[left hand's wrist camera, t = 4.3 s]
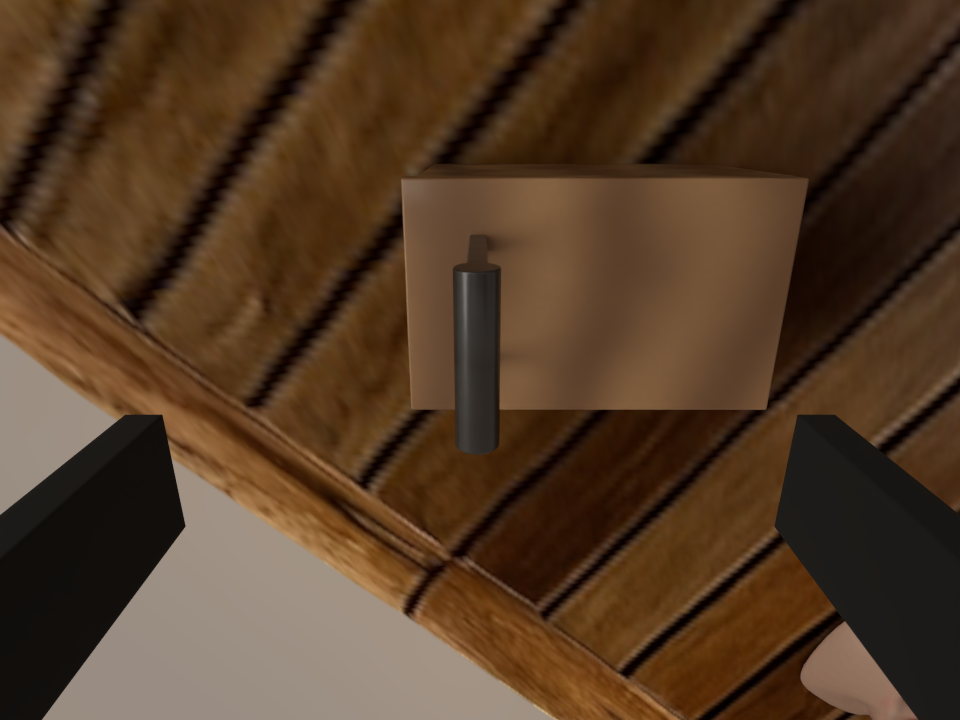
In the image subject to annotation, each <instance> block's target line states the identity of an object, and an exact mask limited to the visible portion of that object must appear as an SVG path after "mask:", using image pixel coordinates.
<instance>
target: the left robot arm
mask: <svg viewBox="0 0 960 720" xmlns="http://www.w3.org/2000/svg"><path fill="white" fill-rule="evenodd" d="M184 528H185V522H184V517H183V512H182V507H181V502H180V498H179V493H178V488H177V483H176V478H175V474H174V469H173V464H172V459H171V454H170V449H169V445H168V440H167V435H166V430H165V425H164V421H163V416H162V415H124V416H123V417H122V418H121V419H119V420H118V421H117V422H116V423H114V424H113V425H112V426H111V427H109V428H108V429H107V430H106V431H104V432H103V433H102V434H101V435H99V436H98V437H97V438H96V439H94V440H93V441H92V442H91V443H89V444H88V445H87V446H86V447H85V448H83V449H82V450H81V451H80V452H78V453H77V454H76V455H75V456H73V457H72V458H71V459H70V460H68V461H67V462H66V463H65V464H63V465H62V466H61V467H60V468H58V469H57V470H56V471H55V472H53V473H52V474H51V475H50V476H48V477H47V478H46V479H45V480H43V481H42V482H41V483H40V484H38V485H37V486H36V487H35V488H33V489H32V490H31V491H30V492H28V493H27V494H26V495H25V496H23V497H22V498H21V499H20V500H18V501H17V502H16V503H15V504H13V505H12V506H11V507H10V508H8V509H7V510H6V511H5V512H3V513H2V514H1V515H0V720H42V719H43V717H44V716H45V715H46V713H47V712H48V711H49V709H50V708H51V707H52V705H53V704H54V703H55V701H56V700H57V699H58V697H59V696H60V695H61V693H62V692H63V691H64V689H65V688H66V686H67V685H68V684H69V682H70V681H71V680H72V678H73V677H74V676H75V674H76V673H77V672H78V670H79V669H80V668H81V666H82V665H83V664H84V662H85V661H86V660H87V658H88V657H89V656H90V654H91V653H92V651H93V650H94V649H95V647H96V646H97V645H98V643H99V642H100V641H101V639H102V638H103V637H104V635H105V634H106V633H107V631H108V630H109V629H110V627H111V626H112V625H113V623H114V622H115V621H116V619H117V618H118V617H119V615H120V614H121V612H122V611H123V610H124V608H125V607H126V606H127V604H128V603H129V602H130V600H131V599H132V598H133V596H134V595H135V594H136V592H137V591H138V590H139V588H140V587H141V586H142V584H143V583H144V582H145V580H146V579H147V578H148V576H149V575H150V574H151V572H152V571H153V569H154V568H155V567H156V565H157V564H158V563H159V561H160V560H161V559H162V557H163V556H164V555H165V553H166V552H167V551H168V549H169V548H170V547H171V545H172V544H173V543H174V541H175V540H176V539H177V537H178V536H179V534H180V533H181V532H182V530H183V529H184ZM775 528H776V529H777V530H778V532H779V533H780V535H781V536H782V537H783V539H784V540H785V541H786V543H787V544H788V545H789V547H790V548H791V549H792V551H793V552H794V553H795V555H796V556H797V557H798V559H799V560H800V561H801V563H802V564H803V565H804V567H805V568H806V569H807V571H808V572H809V574H810V575H811V576H812V578H813V579H814V580H815V582H816V583H817V584H818V586H819V587H820V588H821V590H822V591H823V592H824V594H825V595H826V596H827V598H828V599H829V600H830V602H831V603H832V604H833V606H834V607H835V608H836V610H837V611H838V613H839V614H840V615H841V617H842V618H843V619H844V621H845V622H846V623H847V625H848V626H849V627H850V629H851V630H852V631H853V633H854V634H855V635H856V637H857V638H858V639H859V641H860V642H861V643H862V645H863V646H864V648H865V649H866V650H867V652H868V653H869V654H870V656H871V657H872V658H873V660H874V661H875V662H876V664H877V665H878V666H879V668H880V669H881V670H882V672H883V673H884V674H885V676H886V677H887V678H888V680H889V681H890V682H891V684H892V685H893V687H894V688H895V689H896V691H897V692H898V693H899V695H900V696H901V697H902V699H903V700H904V701H905V703H906V704H907V705H908V707H909V708H910V709H911V711H912V712H913V713H914V715H915V716H916V717H917V719H918V720H960V515H959V514H958V513H957V512H955V511H954V510H953V509H952V508H950V507H949V506H948V505H947V504H945V503H944V502H943V501H942V500H940V499H939V498H938V497H937V496H935V495H934V494H933V493H932V492H930V491H929V490H928V489H927V488H925V487H924V486H923V485H922V484H920V483H919V482H918V481H917V480H915V479H914V478H913V477H912V476H910V475H909V474H908V473H907V472H905V471H904V470H903V469H902V468H900V467H899V466H898V465H897V464H895V463H894V462H893V461H892V460H890V459H889V458H888V457H887V456H885V455H884V454H883V453H882V452H880V451H879V450H878V449H877V448H876V447H874V446H873V445H872V444H871V443H869V442H868V441H867V440H866V439H864V438H863V437H862V436H861V435H859V434H858V433H857V432H856V431H854V430H853V429H852V428H851V427H849V426H848V425H847V424H846V423H844V422H843V421H842V420H841V419H839V418H838V417H837V416H836V415H798V416H797V421H796V425H795V430H794V435H793V440H792V445H791V449H790V454H789V459H788V464H787V469H786V474H785V478H784V483H783V488H782V493H781V498H780V502H779V507H778V512H777V517H776V522H775Z"/></svg>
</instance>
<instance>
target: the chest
mask: <svg viewBox="0 0 960 720" xmlns="http://www.w3.org/2000/svg"><path fill="white" fill-rule="evenodd" d="M417 177H797V176H792V175H785V174H778V173H771V172H764V171H757V170H751V169H744V168H737V167H730V166H723V165H716V164H434V165H433V166H431V167H430V168H428V169H427V170H426V171H424V172H423V173H422V174H420V175H419V176H417Z"/></svg>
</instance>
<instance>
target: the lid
mask: <svg viewBox="0 0 960 720" xmlns="http://www.w3.org/2000/svg"><path fill="white" fill-rule="evenodd" d="M808 183H809V179H808V178H805V177H403V178H402V179H401V191H402V213H403V235H404V258H405V280H406V302H407V324H408V347H409V369H410V391H411V408H412V409H455V444H456V446H457V448H458V449H459V450H461V451H463V452H465V453H469V454H486V453H489V452H492V451H494V450H495V449H497V447H498V446H499V420H500V409H504V410H765V409H766V408H767V403H768V397H769V392H770V387H771V381H772V376H773V371H774V365H775V360H776V354H777V349H778V344H779V338H780V333H781V328H782V322H783V317H784V312H785V306H786V301H787V295H788V290H789V285H790V279H791V274H792V269H793V263H794V258H795V252H796V247H797V242H798V236H799V231H800V226H801V220H802V215H803V209H804V204H805V199H806V193H807V188H808Z"/></svg>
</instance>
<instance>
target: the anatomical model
mask: <svg viewBox="0 0 960 720" xmlns="http://www.w3.org/2000/svg"><path fill="white" fill-rule="evenodd" d="M800 677H801V682H802V683H803V685H804V686H805V687H806V688H807V689H808V690H809V691H811V692H812V693H813V694H815V695H816V696H818V697H819V698H821V699H822V700H824V701H826V702H827V703H829V704H831V705H833V706H835V707H837V708H840V709H842V710H844V711H847V712H850V713H854V714H859V715H870V716H871V718H872V719H873V720H918V719H917V717H916V716H915V715H914V713H913V712H912V711H911V709H910V708H909V707H908V705H907V704H906V703H905V701H904V700H903V699H902V697H901V696H900V695H899V693H898V692H897V691H896V689H895V688H894V687H893V685H892V684H891V682H890V681H889V680H888V678H887V677H886V676H885V674H884V673H883V672H882V670H881V669H880V668H879V666H878V665H877V664H876V662H875V661H874V660H873V658H872V657H871V656H870V654H869V653H868V652H867V650H866V649H865V648H864V646H863V645H862V643H861V642H860V641H859V639H858V638H857V637H856V635H855V634H854V633H853V631H852V630H851V629H850V627H849V626H848V625H847V623H846V622H845V621H844V622H843V623H842V624H840V625H839V626H838V627H836V628H835V629H834V630H833V631H832V632H831V633H830V634H829V635H828V636H827V637H826V638H825V639H824V640H823V641H822V642H821V643H820V644H819V645H818V647H817V648H816V649H815V650H814V652H813V653H812V654H811V655H810V657H809V658H808V660H807V661H806V663H805V664H804V666H803V668H802V671H801V676H800Z"/></svg>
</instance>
